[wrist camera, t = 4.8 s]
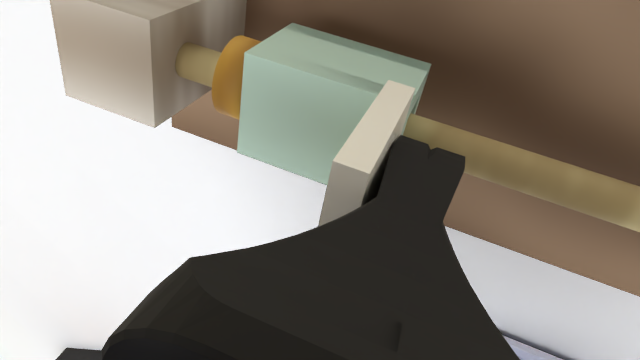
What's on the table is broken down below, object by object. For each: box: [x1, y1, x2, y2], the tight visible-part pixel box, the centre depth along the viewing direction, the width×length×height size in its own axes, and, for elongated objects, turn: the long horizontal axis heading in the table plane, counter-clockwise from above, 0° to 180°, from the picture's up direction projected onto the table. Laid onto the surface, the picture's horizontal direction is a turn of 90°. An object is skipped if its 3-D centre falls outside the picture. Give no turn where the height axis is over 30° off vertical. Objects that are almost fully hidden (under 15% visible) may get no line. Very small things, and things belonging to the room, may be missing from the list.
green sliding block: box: [237, 23, 431, 227], centre depth 11 cm, size 4×4×6 cm
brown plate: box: [50, 0, 640, 297], centre depth 13 cm, size 10×20×6 cm, turn 80°
